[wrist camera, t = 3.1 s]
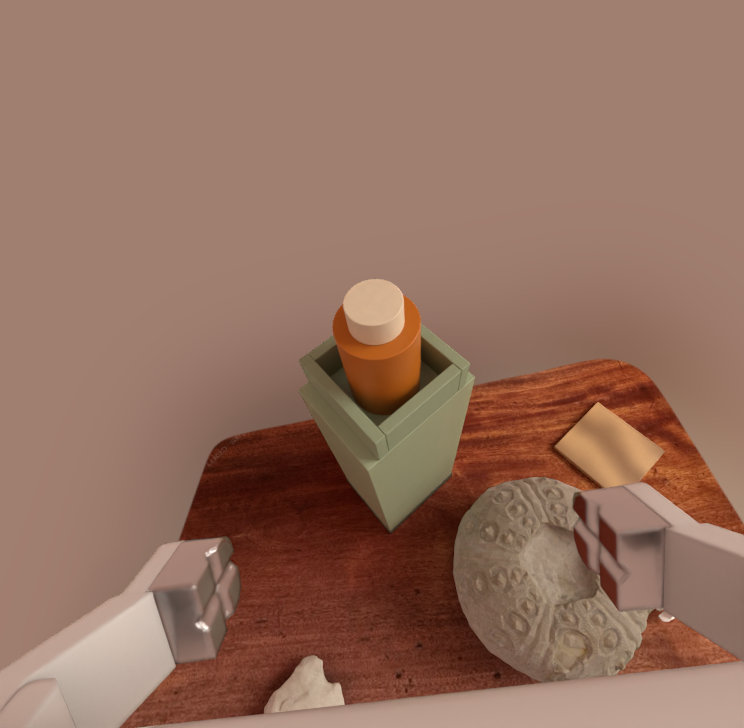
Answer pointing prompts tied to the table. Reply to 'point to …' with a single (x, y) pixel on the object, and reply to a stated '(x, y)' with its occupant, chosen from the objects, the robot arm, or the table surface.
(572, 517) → the decorative shell
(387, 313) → the amber bottle
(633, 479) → the coaster
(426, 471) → the cabinet
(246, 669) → the table surface
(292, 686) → the arrowhead
